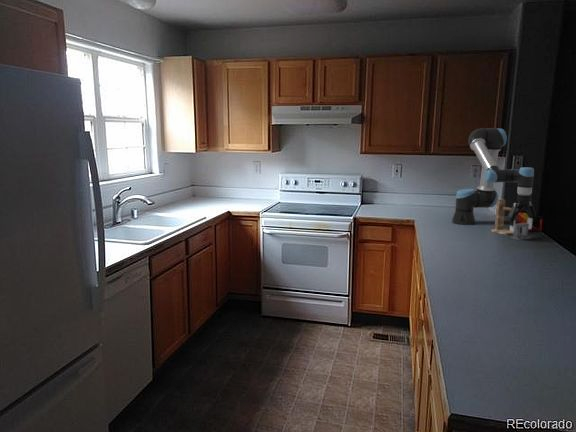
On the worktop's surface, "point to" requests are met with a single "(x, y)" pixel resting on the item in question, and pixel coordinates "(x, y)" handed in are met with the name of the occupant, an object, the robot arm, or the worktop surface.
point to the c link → (524, 230)
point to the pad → (521, 238)
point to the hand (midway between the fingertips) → (520, 229)
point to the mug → (523, 218)
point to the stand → (501, 218)
